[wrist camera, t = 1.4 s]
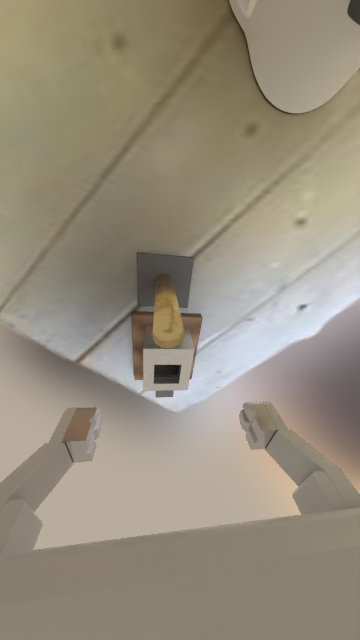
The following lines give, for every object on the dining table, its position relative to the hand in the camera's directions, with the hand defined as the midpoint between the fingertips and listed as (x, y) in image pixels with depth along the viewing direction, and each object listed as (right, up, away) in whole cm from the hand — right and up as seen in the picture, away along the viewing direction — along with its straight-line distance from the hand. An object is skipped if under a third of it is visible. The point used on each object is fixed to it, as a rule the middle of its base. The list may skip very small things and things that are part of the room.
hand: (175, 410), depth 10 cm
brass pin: (-2, +12, +20) cm, 23 cm away
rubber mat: (-2, +12, +21) cm, 24 cm away
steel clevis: (-3, -2, +27) cm, 27 cm away
